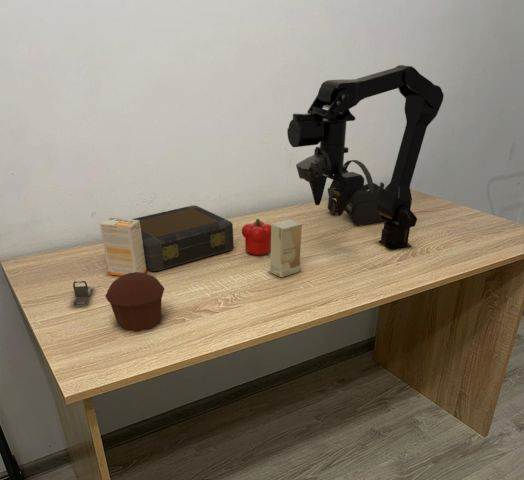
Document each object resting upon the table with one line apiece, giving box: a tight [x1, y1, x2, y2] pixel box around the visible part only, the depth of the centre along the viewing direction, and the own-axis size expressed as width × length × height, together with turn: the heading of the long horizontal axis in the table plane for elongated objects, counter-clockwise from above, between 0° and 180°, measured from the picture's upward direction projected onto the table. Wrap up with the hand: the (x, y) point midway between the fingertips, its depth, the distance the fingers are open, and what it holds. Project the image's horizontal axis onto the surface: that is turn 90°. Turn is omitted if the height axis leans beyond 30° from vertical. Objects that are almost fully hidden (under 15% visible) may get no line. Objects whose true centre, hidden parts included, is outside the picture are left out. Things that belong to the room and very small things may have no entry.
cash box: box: [130, 204, 234, 272], centre depth 141 cm, size 25×20×8 cm
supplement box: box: [99, 216, 148, 277], centre depth 127 cm, size 8×5×13 cm, turn 70°
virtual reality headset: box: [327, 159, 386, 226], centre depth 163 cm, size 19×24×15 cm
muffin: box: [104, 272, 165, 333], centre depth 108 cm, size 12×11×10 cm
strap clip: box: [72, 280, 92, 307], centre depth 118 cm, size 8×3×4 cm, turn 8°
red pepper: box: [241, 218, 271, 257], centre depth 139 cm, size 7×7×9 cm
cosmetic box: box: [269, 219, 303, 278], centre depth 127 cm, size 6×4×12 cm
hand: (328, 210), depth 130 cm, fingers open, 9 cm apart
